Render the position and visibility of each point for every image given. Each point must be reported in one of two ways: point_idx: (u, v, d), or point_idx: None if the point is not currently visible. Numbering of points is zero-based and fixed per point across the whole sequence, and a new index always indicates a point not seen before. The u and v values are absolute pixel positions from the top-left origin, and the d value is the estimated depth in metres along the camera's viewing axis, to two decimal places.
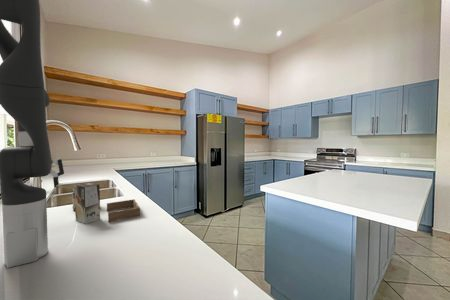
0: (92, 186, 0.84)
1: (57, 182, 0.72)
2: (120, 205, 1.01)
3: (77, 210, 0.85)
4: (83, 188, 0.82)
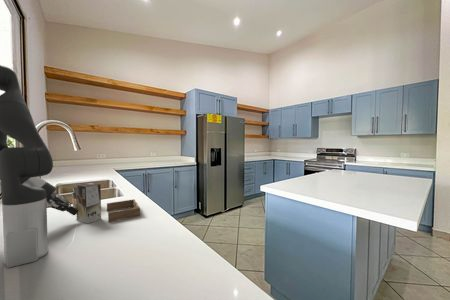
0: (93, 186, 0.85)
1: None
2: (120, 205, 1.01)
3: (78, 210, 0.85)
4: (84, 188, 0.82)
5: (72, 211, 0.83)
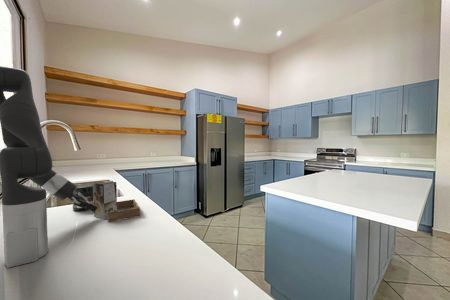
0: (110, 184, 0.89)
1: (93, 206, 0.89)
2: (120, 205, 1.01)
3: None
4: (102, 185, 0.87)
5: (92, 208, 0.86)
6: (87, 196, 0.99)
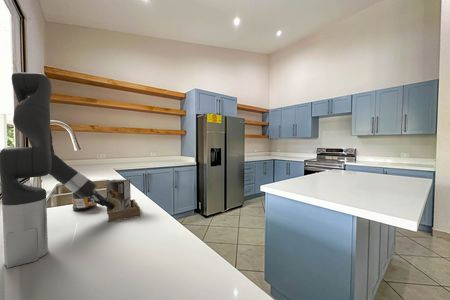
0: (127, 181, 0.95)
1: None
2: None
3: None
4: (122, 183, 0.92)
5: (110, 206, 0.90)
6: (87, 196, 0.99)
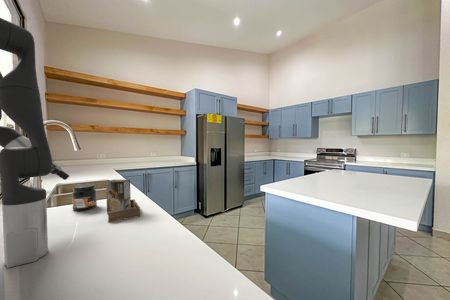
0: (127, 181, 0.95)
1: None
2: None
3: (111, 205, 0.93)
4: (122, 183, 0.92)
5: (63, 175, 0.81)
6: (87, 196, 0.99)
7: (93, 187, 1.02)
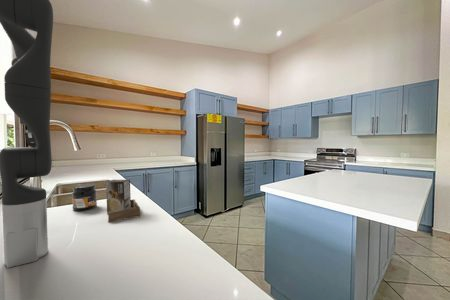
0: (127, 181, 0.95)
1: None
2: None
3: (111, 205, 0.93)
4: (122, 183, 0.92)
5: None
6: (87, 196, 0.99)
7: (93, 187, 1.02)
